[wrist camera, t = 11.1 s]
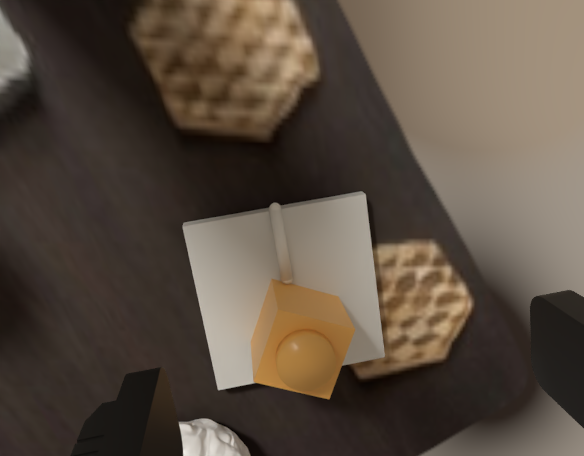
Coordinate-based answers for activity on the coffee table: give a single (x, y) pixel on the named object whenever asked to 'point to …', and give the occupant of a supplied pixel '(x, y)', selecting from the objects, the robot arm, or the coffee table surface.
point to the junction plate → (282, 273)
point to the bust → (210, 439)
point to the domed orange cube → (300, 340)
